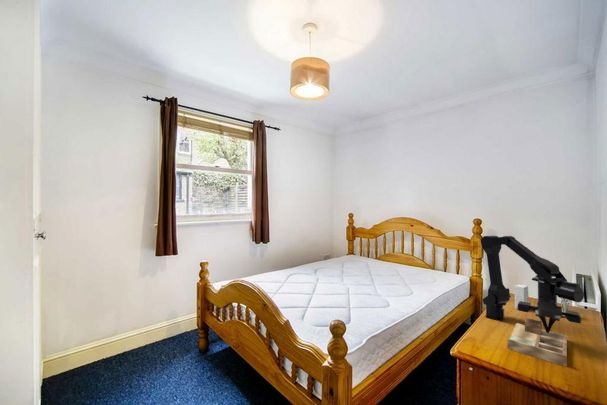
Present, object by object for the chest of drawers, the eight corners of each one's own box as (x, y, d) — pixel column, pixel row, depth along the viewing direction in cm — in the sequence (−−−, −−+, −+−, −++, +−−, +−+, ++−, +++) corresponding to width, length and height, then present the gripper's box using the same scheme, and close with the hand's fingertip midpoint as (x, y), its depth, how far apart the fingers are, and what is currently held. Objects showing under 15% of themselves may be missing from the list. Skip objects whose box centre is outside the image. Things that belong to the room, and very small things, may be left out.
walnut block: (525, 331, 111) (524, 321, 111) (526, 327, 115) (526, 317, 115) (541, 335, 108) (540, 325, 108) (541, 331, 111) (541, 321, 111)
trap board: (507, 348, 101) (507, 339, 101) (516, 327, 119) (516, 319, 119) (566, 366, 90) (566, 356, 90) (566, 340, 108) (566, 331, 108)
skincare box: (524, 311, 137) (524, 287, 138) (514, 308, 141) (514, 285, 141) (529, 308, 141) (529, 285, 141) (518, 306, 145) (518, 283, 145)
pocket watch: (542, 312, 136) (542, 292, 136) (557, 311, 137) (557, 292, 137) (559, 319, 128) (558, 298, 128) (574, 318, 129) (574, 297, 129)
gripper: (515, 293, 109) (516, 331, 109) (581, 305, 96) (581, 348, 96) (518, 287, 117) (519, 323, 117) (579, 297, 104) (580, 337, 104)
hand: (547, 332), depth 108 cm, fingers closed
